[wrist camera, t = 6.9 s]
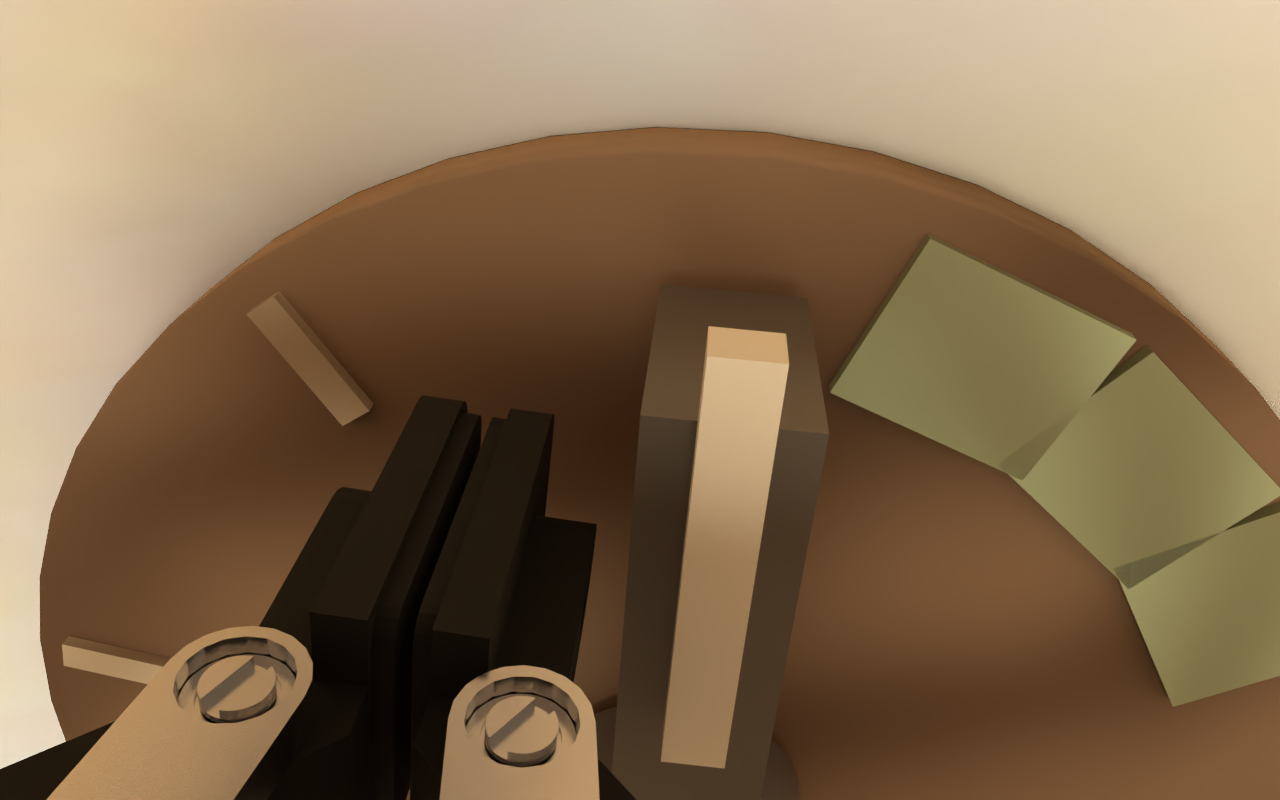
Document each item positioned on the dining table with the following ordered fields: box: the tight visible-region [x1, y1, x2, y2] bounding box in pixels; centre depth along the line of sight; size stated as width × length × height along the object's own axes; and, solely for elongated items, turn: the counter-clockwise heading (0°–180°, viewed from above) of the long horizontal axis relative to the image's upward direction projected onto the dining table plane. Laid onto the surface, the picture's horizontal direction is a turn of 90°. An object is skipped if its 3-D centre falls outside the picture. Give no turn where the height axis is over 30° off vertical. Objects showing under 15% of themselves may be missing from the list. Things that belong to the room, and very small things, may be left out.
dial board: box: [40, 127, 1280, 800], centre depth 18 cm, size 22×22×1 cm
